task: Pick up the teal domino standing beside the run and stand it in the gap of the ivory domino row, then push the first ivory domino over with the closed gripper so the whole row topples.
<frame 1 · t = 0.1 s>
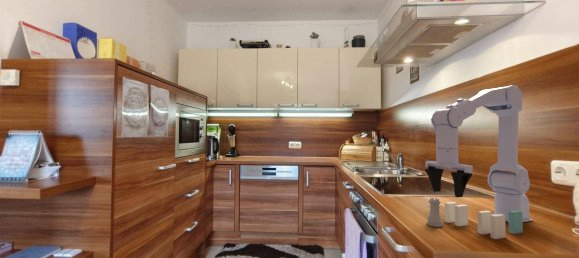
hand: (447, 194, 79), 10 cm above the countertop, fingers open, 7 cm apart
rook chess piece: (434, 225, 81), on the countertop
domino 4: (484, 233, 75), on the countertop
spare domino: (515, 232, 75), on the countertop
domino 5: (498, 237, 71), on the countertop
domino 2: (461, 225, 81), on the countertop
domino 1: (451, 221, 85), on the countertop
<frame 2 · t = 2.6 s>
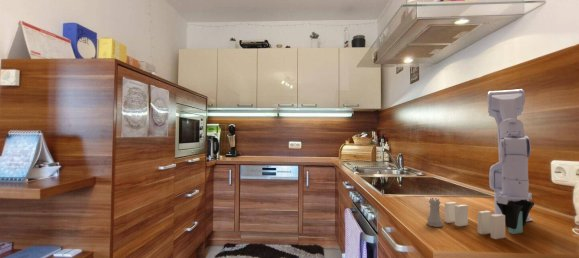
hand: (515, 226, 75), 2 cm above the countertop, fingers closed on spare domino, 4 cm apart
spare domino: (515, 232, 75), on the countertop, touching gripper
everything else where it was.
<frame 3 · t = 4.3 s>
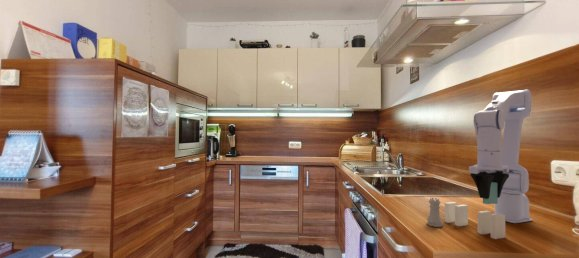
hand: (489, 197, 77), 9 cm above the countertop, fingers closed on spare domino, 4 cm apart
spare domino: (490, 203, 77), point 8 cm above the countertop, touching gripper
everything else where it was.
when the fingers open (3 cm above the countertop, at t = 6.3 s): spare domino drops 1 cm, on the countertop.
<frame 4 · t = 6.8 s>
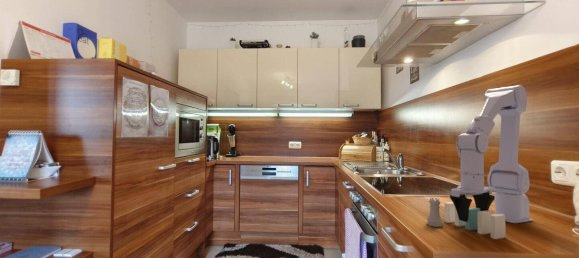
hand: (472, 219, 78), 3 cm above the countertop, fingers open, 7 cm apart
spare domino: (472, 229, 78), on the countertop
everything else where it was.
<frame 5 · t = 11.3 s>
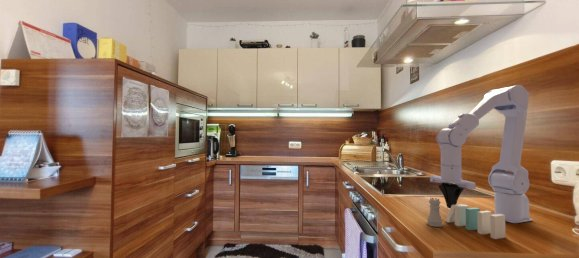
hand: (451, 207, 85), 4 cm above the countertop, fingers closed
domino 1: (451, 220, 84), on the countertop, tilted 24°
everything else where it was.
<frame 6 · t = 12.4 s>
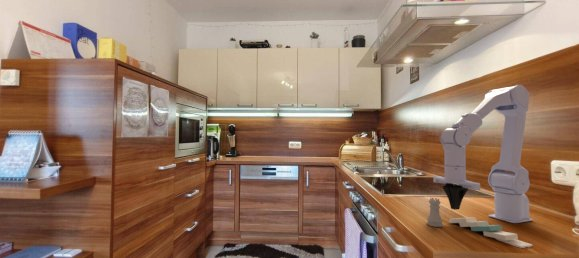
hand: (455, 208, 83), 4 cm above the countertop, fingers closed
domino 4: (489, 232, 73), point 1 cm above the countertop, tilted 81°
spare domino: (476, 228, 77), point 1 cm above the countertop, tilted 71°, touching domino 2
domino 5: (501, 239, 71), on the countertop, tilted 90°
domino 2: (464, 224, 80), point 1 cm above the countertop, tilted 71°, touching domino 1, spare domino
domino 1: (454, 220, 84), point 1 cm above the countertop, tilted 71°, touching domino 2
everything else where it was.
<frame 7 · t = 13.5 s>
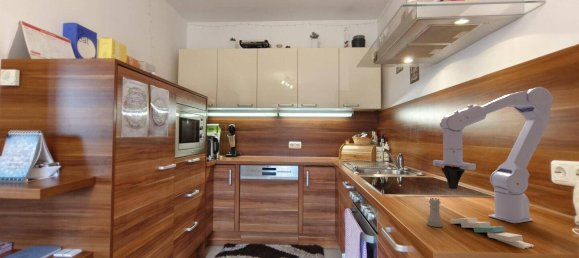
hand: (453, 188, 91), 9 cm above the countertop, fingers closed
domino 4: (493, 234, 72), point 1 cm above the countertop, tilted 80°, touching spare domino
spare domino: (479, 229, 76), point 1 cm above the countertop, tilted 71°, touching domino 2, domino 4
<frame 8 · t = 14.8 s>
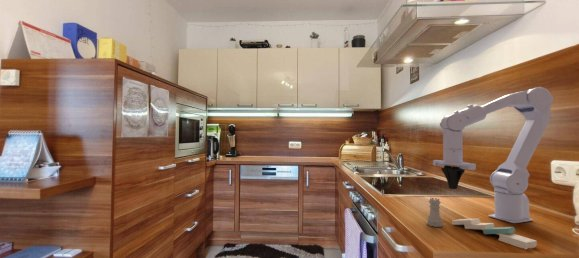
hand: (453, 188, 91), 9 cm above the countertop, fingers closed
domino 4: (504, 235, 70), point 1 cm above the countertop, tilted 90°, touching domino 5
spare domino: (486, 231, 74), point 1 cm above the countertop, tilted 71°, touching domino 2
domino 5: (503, 239, 70), on the countertop, tilted 90°, touching domino 4
at the end: domino 5 tilted 90°; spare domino tilted 71°; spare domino 3.2 cm from the target spot, point 0.6 cm above the countertop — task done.
